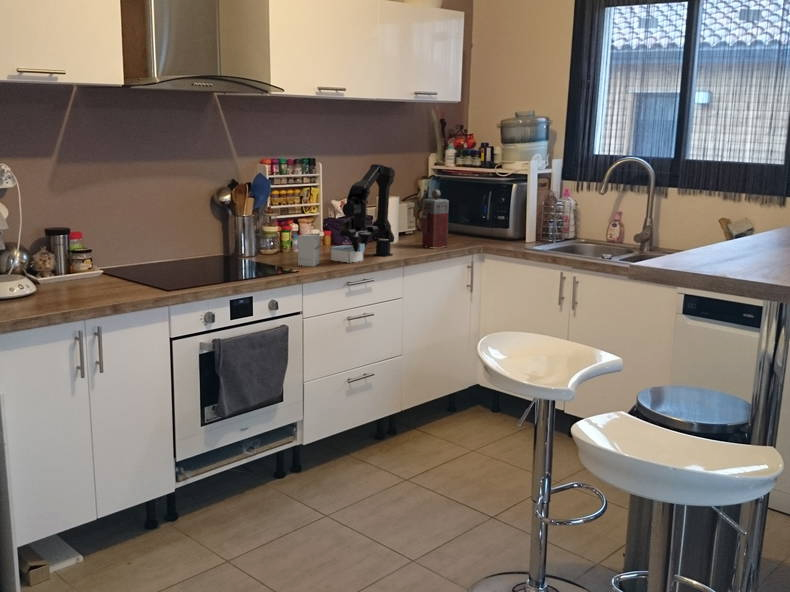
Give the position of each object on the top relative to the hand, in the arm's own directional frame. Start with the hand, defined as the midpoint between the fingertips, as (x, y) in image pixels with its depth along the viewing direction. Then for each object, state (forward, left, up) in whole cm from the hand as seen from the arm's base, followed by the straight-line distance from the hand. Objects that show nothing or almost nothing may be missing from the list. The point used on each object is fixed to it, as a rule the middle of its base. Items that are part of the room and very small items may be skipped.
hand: (359, 251), depth 342 cm
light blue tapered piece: (0, -5, -1) cm, 6 cm away
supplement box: (+19, -11, -5) cm, 23 cm away
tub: (0, -7, -5) cm, 9 cm away
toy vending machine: (-59, -5, -5) cm, 59 cm away
